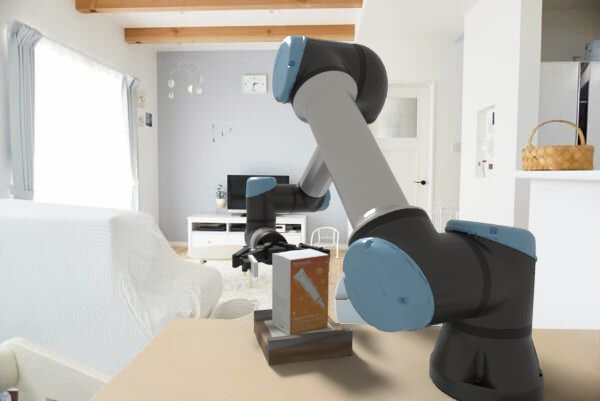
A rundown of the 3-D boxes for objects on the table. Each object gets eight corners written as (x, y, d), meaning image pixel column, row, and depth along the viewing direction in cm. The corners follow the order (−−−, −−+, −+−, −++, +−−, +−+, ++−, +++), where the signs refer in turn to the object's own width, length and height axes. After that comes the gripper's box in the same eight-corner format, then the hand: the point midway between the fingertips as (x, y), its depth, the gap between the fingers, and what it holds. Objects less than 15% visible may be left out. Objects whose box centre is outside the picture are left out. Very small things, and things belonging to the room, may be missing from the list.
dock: (352, 354, 69) (352, 331, 69) (269, 365, 66) (268, 340, 65) (324, 323, 83) (324, 304, 83) (253, 331, 79) (253, 310, 79)
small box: (290, 337, 70) (290, 259, 69) (271, 324, 75) (271, 252, 74) (329, 327, 74) (329, 253, 73) (309, 316, 79) (309, 247, 78)
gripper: (319, 258, 101) (355, 282, 81) (214, 265, 95) (224, 292, 74) (320, 227, 101) (355, 243, 80) (214, 232, 94) (223, 250, 74)
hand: (292, 267), depth 77 cm, fingers open, 13 cm apart
